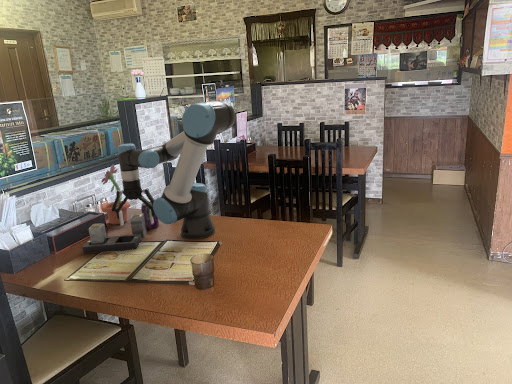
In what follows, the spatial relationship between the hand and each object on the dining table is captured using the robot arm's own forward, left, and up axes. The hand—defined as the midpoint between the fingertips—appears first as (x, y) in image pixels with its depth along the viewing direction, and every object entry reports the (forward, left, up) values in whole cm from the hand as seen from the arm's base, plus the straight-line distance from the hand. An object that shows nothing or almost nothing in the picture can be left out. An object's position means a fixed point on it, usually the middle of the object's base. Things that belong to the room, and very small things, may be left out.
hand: (137, 224), depth 178 cm
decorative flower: (+16, -23, -6) cm, 29 cm away
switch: (+9, +11, -6) cm, 15 cm away
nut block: (0, 0, -6) cm, 6 cm away
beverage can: (-3, -11, -6) cm, 13 cm away
